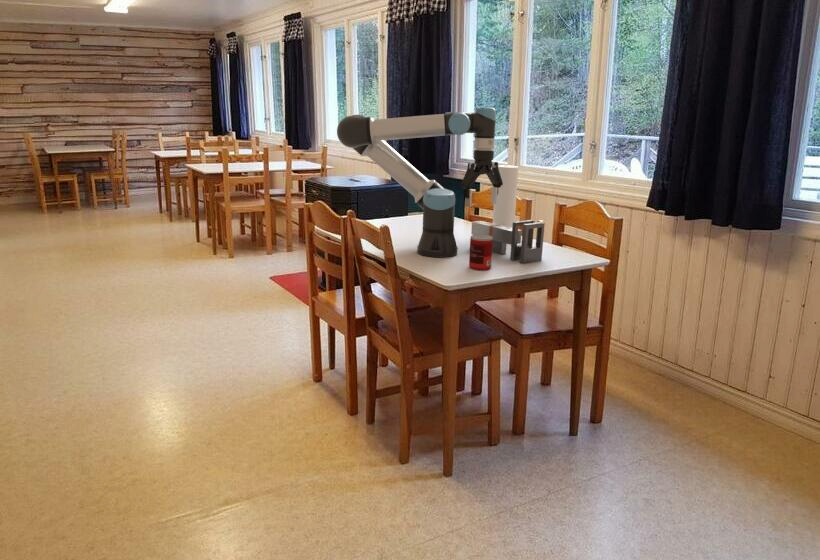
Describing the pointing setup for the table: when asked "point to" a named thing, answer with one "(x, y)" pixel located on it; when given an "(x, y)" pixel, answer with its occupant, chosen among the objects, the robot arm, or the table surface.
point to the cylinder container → (506, 196)
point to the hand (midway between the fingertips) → (481, 205)
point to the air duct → (495, 231)
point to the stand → (499, 247)
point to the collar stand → (527, 242)
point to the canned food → (480, 252)
